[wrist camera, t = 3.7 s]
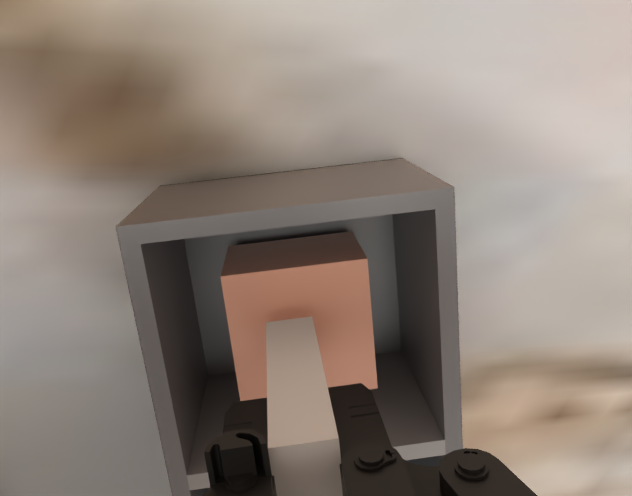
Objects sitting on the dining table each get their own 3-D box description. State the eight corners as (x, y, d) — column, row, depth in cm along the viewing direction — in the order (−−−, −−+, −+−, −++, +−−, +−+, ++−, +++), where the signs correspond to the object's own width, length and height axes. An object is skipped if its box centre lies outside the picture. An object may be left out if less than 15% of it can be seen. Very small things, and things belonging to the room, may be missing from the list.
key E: (245, 358, 24) (241, 406, 20) (228, 245, 22) (220, 276, 19) (361, 343, 24) (377, 388, 20) (352, 231, 23) (367, 258, 19)
